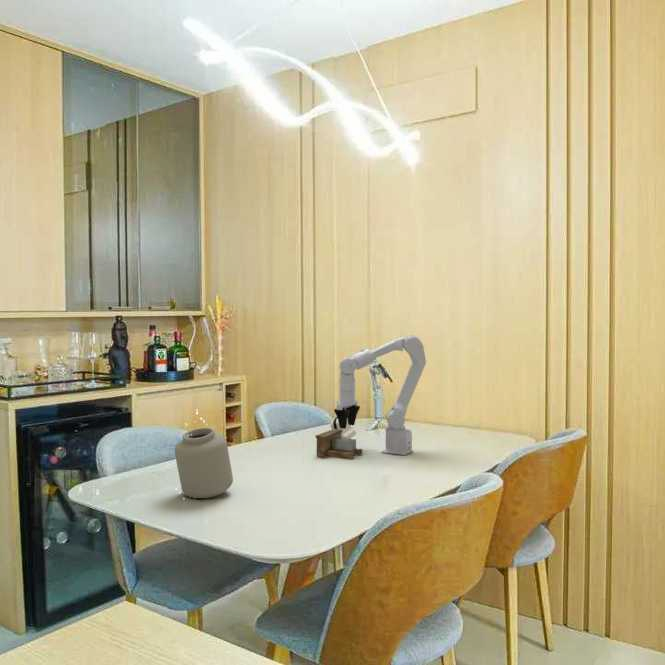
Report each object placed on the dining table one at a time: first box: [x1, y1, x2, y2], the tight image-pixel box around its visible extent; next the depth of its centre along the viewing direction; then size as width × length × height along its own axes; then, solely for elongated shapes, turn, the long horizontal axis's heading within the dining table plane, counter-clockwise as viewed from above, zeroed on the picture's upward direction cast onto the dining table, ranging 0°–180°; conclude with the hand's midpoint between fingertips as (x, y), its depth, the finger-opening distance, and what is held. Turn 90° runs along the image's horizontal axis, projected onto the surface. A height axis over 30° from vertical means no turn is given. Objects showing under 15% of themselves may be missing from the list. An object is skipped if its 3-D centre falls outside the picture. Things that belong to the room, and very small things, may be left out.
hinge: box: [330, 416, 357, 439], centre depth 275 cm, size 17×5×10 cm, turn 164°
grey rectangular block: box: [332, 437, 357, 457], centre depth 241 cm, size 8×4×6 cm, turn 63°
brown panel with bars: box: [315, 428, 363, 460], centre depth 241 cm, size 13×15×8 cm
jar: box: [174, 409, 234, 500], centre depth 189 cm, size 19×15×25 cm
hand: (347, 426), depth 247 cm, fingers open, 7 cm apart
